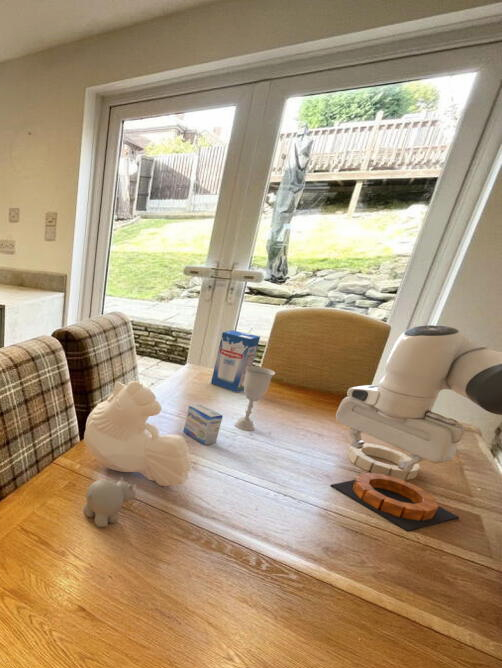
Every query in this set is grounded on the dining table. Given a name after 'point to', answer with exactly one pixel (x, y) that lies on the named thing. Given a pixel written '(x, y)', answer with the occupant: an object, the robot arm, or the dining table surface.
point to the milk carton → (234, 359)
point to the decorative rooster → (135, 437)
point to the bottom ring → (378, 467)
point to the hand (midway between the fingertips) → (379, 457)
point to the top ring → (418, 511)
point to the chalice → (254, 391)
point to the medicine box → (202, 424)
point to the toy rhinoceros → (107, 500)
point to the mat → (404, 523)
